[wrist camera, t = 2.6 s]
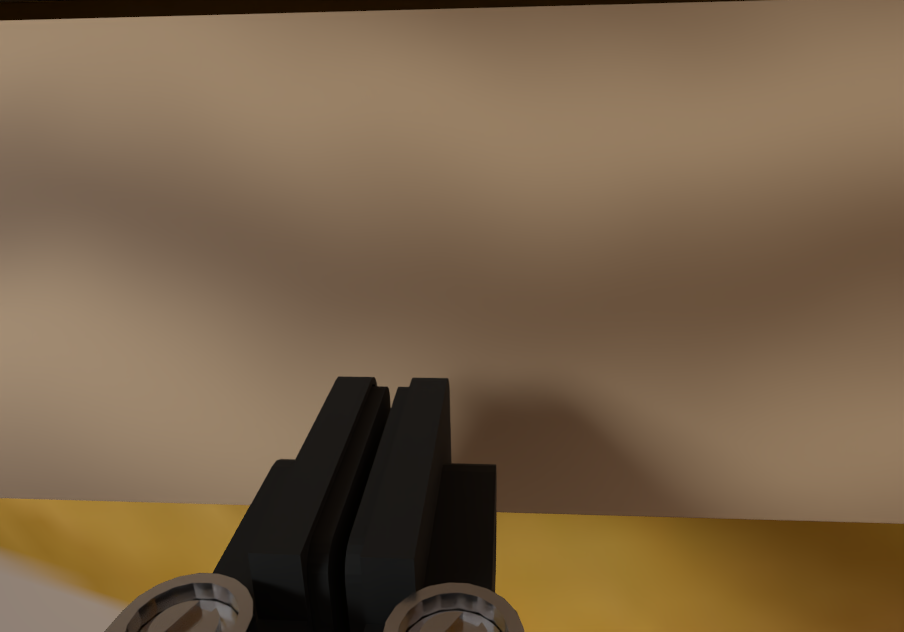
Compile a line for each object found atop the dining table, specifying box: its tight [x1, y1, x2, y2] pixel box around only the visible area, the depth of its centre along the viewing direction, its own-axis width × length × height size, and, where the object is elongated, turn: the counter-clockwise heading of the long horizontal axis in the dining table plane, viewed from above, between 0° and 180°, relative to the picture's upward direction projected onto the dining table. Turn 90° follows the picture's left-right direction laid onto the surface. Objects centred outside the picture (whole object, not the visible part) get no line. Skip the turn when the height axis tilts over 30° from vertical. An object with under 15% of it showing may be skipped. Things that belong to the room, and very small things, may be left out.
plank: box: [0, 0, 904, 524], centre depth 13 cm, size 9×22×1 cm, turn 91°
